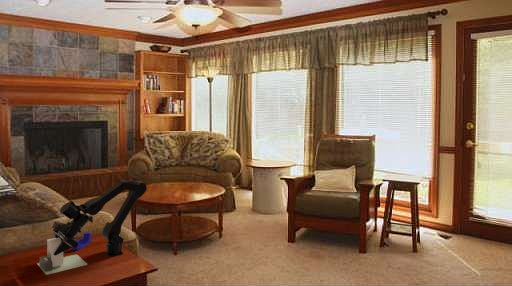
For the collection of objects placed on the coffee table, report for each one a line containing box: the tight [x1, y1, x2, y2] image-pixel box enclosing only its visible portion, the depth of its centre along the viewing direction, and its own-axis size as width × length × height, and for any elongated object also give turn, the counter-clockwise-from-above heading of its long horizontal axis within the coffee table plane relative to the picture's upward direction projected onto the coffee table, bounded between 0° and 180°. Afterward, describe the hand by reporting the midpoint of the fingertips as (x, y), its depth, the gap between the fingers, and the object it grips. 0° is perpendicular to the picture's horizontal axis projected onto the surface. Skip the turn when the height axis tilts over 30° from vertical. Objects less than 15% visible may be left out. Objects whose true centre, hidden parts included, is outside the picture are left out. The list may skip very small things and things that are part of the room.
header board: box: [36, 254, 88, 276], centre depth 198 cm, size 18×14×5 cm
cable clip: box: [71, 232, 92, 252], centre depth 219 cm, size 12×4×6 cm, turn 170°
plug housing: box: [46, 237, 64, 267], centre depth 195 cm, size 5×6×11 cm
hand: (52, 252), depth 194 cm, fingers closed on plug housing, 6 cm apart
